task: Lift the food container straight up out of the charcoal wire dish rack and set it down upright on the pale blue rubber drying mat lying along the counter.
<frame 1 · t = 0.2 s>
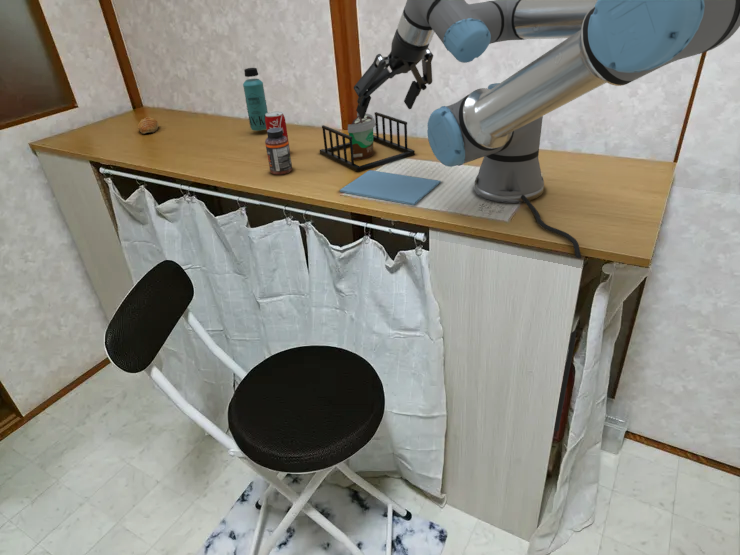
hand: (384, 109, 128), 16 cm above the worktop, tool tilted 35°, fingers open, 13 cm apart
drying mat: (390, 187, 127), on the worktop
soda can: (280, 154, 154), on the worktop
dish rack: (366, 154, 148), on the worktop
food container: (366, 154, 149), resting in dish rack
pastry: (150, 131, 185), on the worktop
beverage bottle: (261, 132, 174), on the worktop
supplement bottle: (281, 172, 142), on the worktop
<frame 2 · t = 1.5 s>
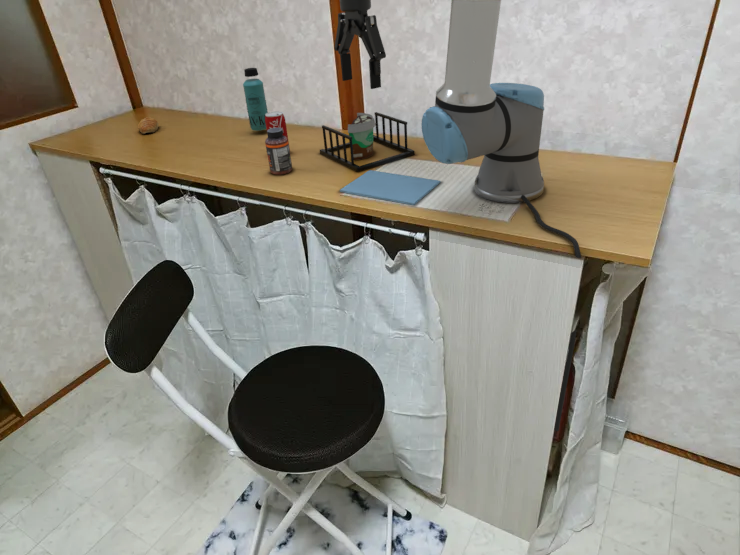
hand: (361, 83, 138), 19 cm above the worktop, tool pointing down, fingers open, 13 cm apart
nothing on the worktop moved.
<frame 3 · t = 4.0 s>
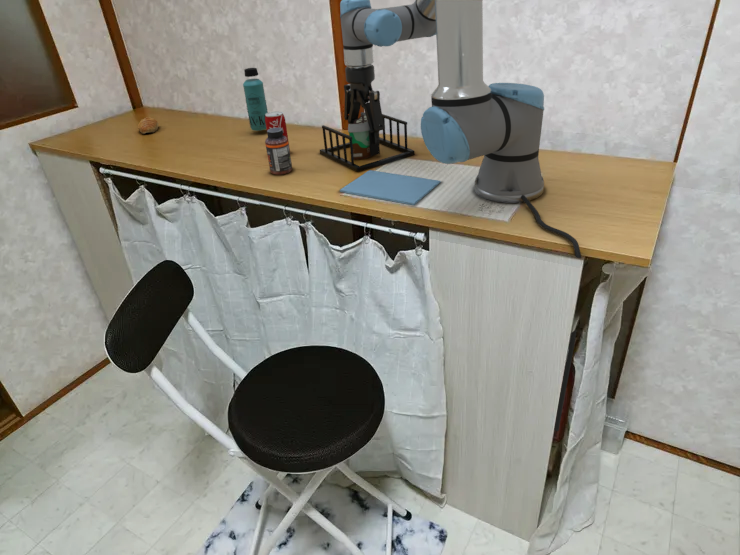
hand: (365, 150, 148), 1 cm above the worktop, tool pointing down, fingers closed on food container, 9 cm apart
food container: (367, 154, 148), resting in dish rack, touching gripper
everything else where it was.
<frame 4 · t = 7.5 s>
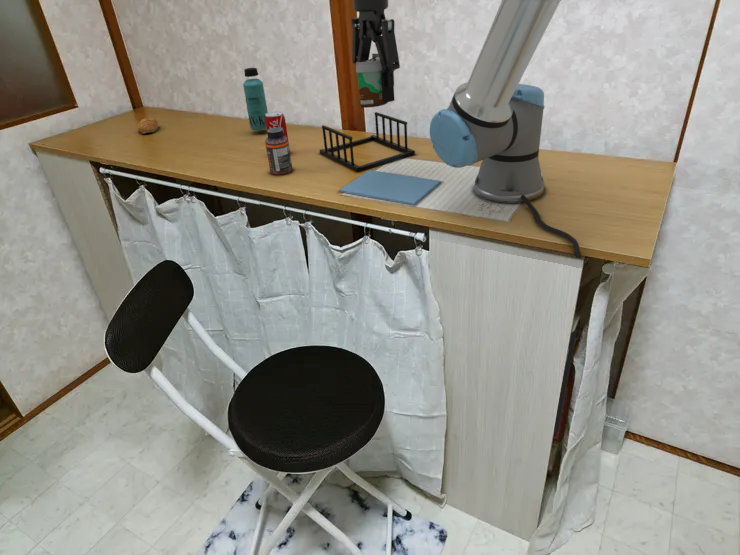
hand: (377, 98, 124), 19 cm above the worktop, tool pointing down, fingers closed on food container, 9 cm apart
food container: (379, 103, 125), point 18 cm above the worktop, touching gripper
everything else where it was.
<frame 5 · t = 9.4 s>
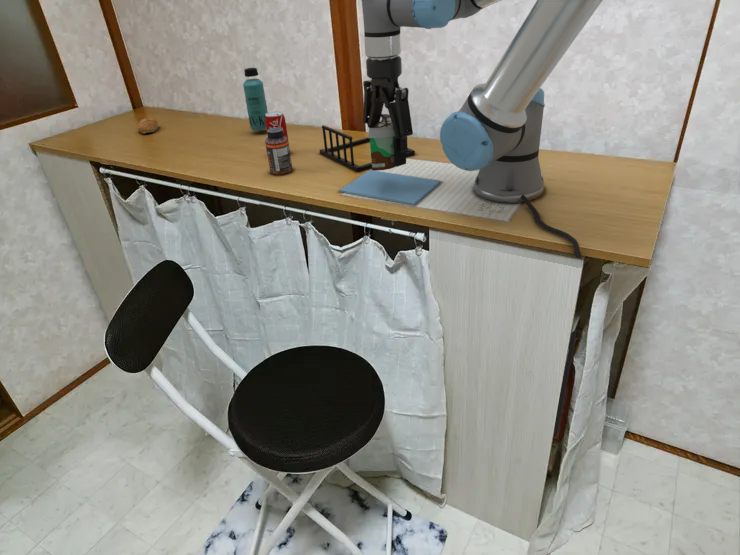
hand: (388, 159, 123), 7 cm above the worktop, tool pointing down, fingers closed on food container, 9 cm apart
food container: (390, 164, 124), point 6 cm above the worktop, touching gripper
everything else where it was.
when the fingers open (1 cm above the worktop, at t = 11.3 s): food container stays where it is, resting on drying mat.
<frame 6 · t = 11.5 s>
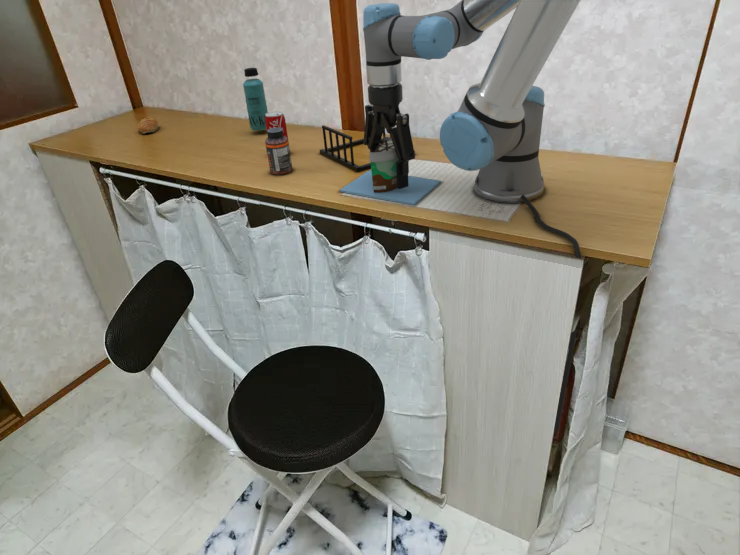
hand: (389, 181, 126), 2 cm above the worktop, tool pointing down, fingers open, 10 cm apart
food container: (391, 186, 127), resting on drying mat
everything else where it was.
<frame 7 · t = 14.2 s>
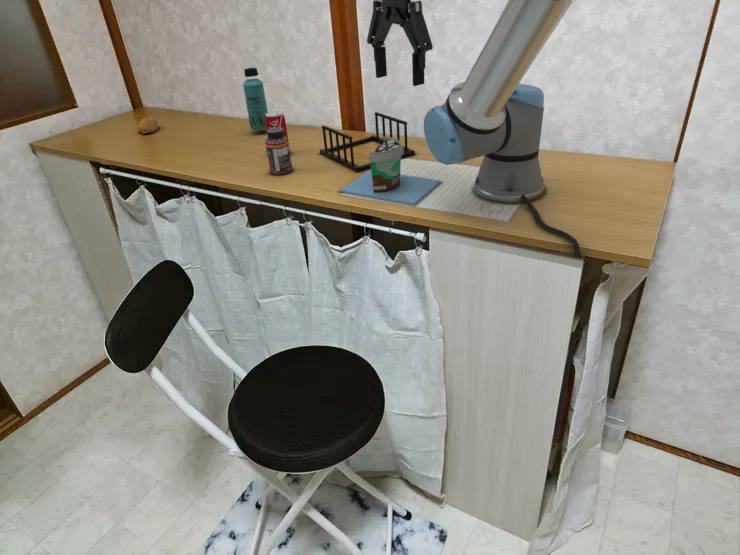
hand: (399, 80, 122), 23 cm above the worktop, tool pointing down, fingers open, 13 cm apart
nothing on the worktop moved.
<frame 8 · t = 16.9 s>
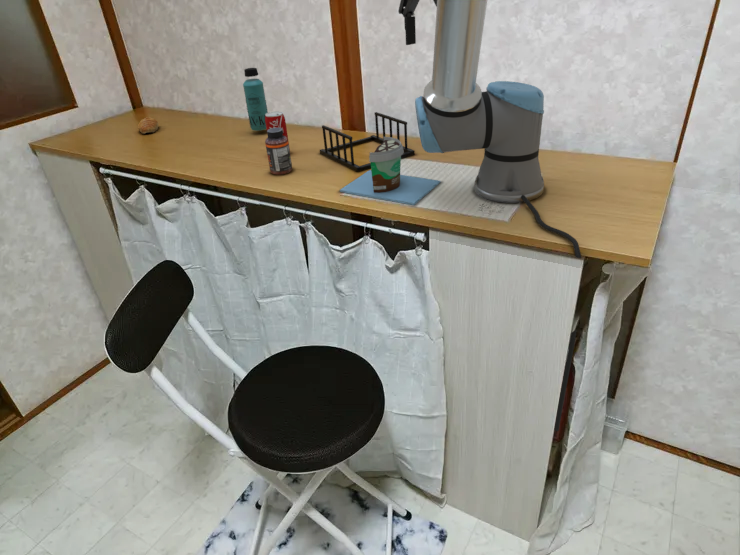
hand: (427, 46, 134), 27 cm above the worktop, tool pointing down, fingers open, 13 cm apart
nothing on the worktop moved.
at the end: food container inside the target area on the drying mat (0.4 cm from its centre), point 0.3 cm above the drying mat's base; food container tilted 0°; the gripper is holding nothing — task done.
